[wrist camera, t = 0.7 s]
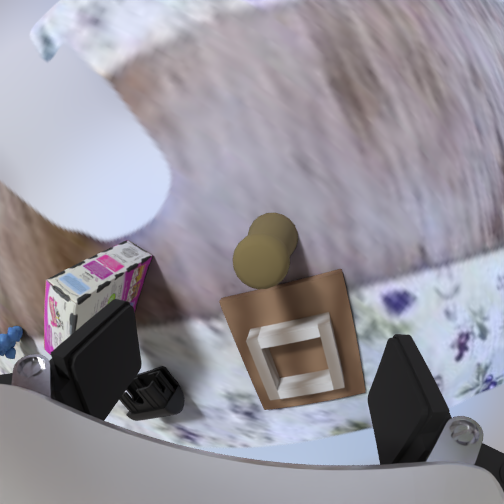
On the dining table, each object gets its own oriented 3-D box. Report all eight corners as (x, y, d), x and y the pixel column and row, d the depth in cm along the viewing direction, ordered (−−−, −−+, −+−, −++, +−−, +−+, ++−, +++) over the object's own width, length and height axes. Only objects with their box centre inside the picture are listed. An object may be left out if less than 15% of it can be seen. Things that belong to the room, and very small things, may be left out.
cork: (308, 235, 35) (308, 265, 25) (275, 271, 37) (262, 311, 27) (269, 202, 35) (253, 218, 25) (238, 239, 37) (210, 268, 27)
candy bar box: (126, 237, 40) (44, 277, 25) (154, 254, 40) (77, 303, 24) (110, 298, 44) (42, 350, 28) (134, 314, 44) (71, 374, 28)
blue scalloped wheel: (24, 354, 56) (-6, 377, 45) (9, 332, 55) (-21, 353, 44) (36, 339, 52) (2, 364, 41) (19, 314, 52) (-16, 337, 40)
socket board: (341, 268, 36) (344, 281, 32) (364, 387, 40) (367, 405, 36) (221, 298, 40) (212, 312, 36) (265, 404, 44) (261, 423, 40)
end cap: (152, 404, 49) (136, 427, 43) (129, 376, 48) (111, 398, 42) (190, 395, 47) (176, 421, 40) (166, 364, 45) (148, 389, 39)
